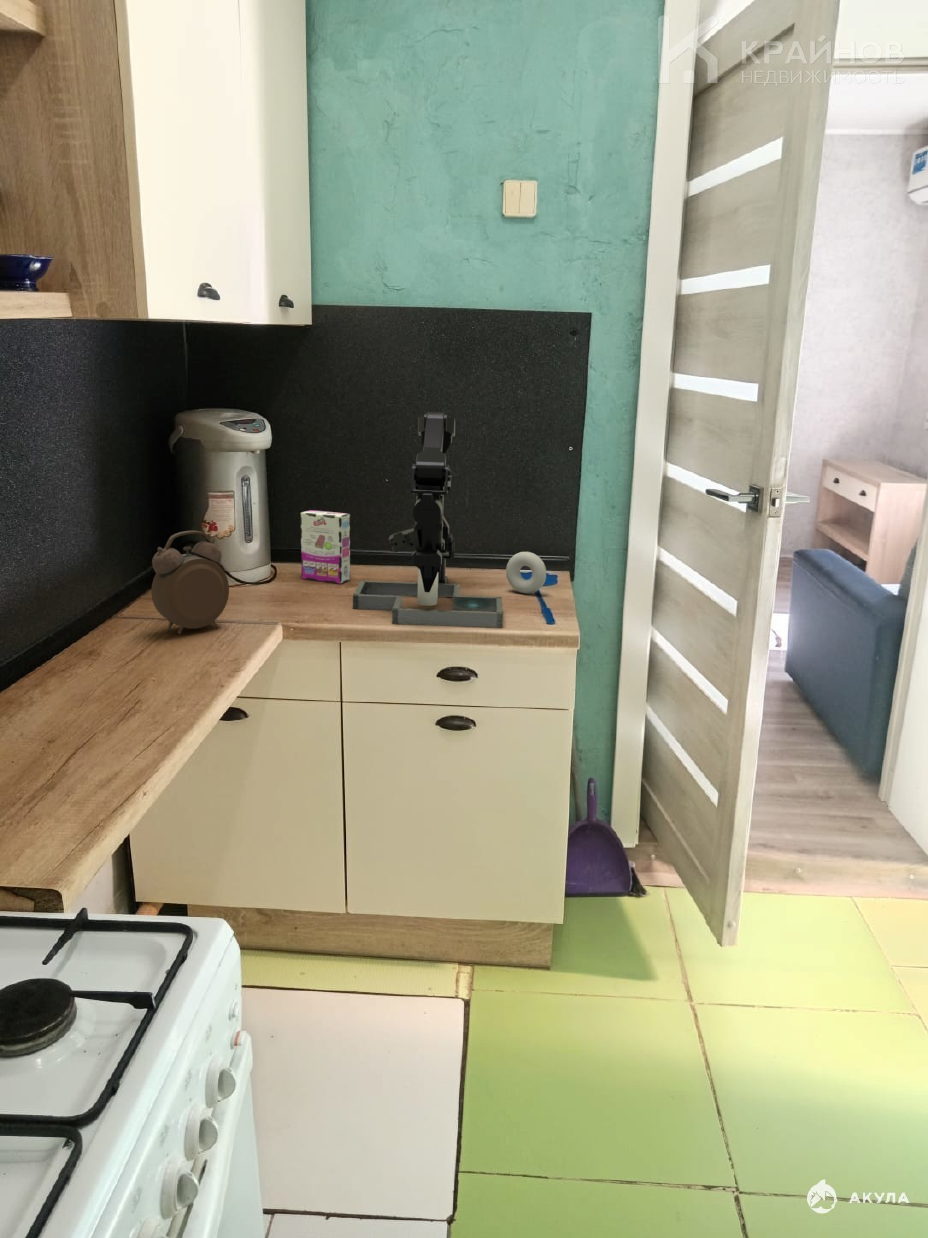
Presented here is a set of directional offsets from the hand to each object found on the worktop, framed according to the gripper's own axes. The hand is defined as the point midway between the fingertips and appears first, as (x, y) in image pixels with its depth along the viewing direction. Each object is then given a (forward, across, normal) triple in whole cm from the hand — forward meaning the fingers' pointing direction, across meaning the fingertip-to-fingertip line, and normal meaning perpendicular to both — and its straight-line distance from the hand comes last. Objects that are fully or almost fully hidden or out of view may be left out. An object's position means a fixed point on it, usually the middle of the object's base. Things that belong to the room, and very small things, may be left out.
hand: (427, 589), depth 214 cm
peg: (+3, 0, 0) cm, 3 cm away
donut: (+5, -18, +22) cm, 29 cm away
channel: (+5, -1, 0) cm, 5 cm away
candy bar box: (+5, -24, -26) cm, 36 cm away
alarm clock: (+5, +20, -46) cm, 51 cm away
